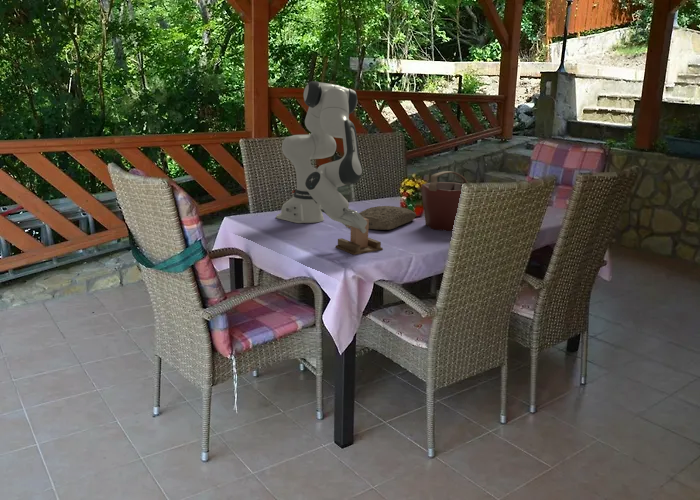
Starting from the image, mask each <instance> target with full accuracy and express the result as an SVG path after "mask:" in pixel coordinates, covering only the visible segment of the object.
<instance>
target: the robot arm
mask: <svg viewBox="0 0 700 500" xmlns="http://www.w3.org/2000/svg"><path fill="white" fill-rule="evenodd" d="M303 102H304V104H305V105H306V106H307V107H308V109H307V111H306V115H305V119H304V125H305V127H306V130H308V132H310V133H309V134H294V135H290V136H286V137H285V138H284V139H283V141H282V143H281V150H282V154H283V155H284V157H285V158H286V159H287V160H289V161H290V162H291V164H292V165H293V167H294V170H295V175H296V188H295V189H294V190H292V191H291V194H293V197H290V199H288V200H287V201H286V202H284V203H283V205H282V206H281V211H280V213H278V214H277V215H276V216H275V217H276V219H279V220H282V221H286V222H291V223H295V224H304V223H305V224H310V223H311V224H312V223H314V224H315V223H320V222H323V221H324V220H325V219H324V215H323V213H324V214H325V215H326V216H328V218H330V219H331V220H332V221H335V222H338V223H341V224H342V225H343V226H345V227H346V228H348V229H351V226H352V227H355V228H358V229H360V230H359V231H360V232H361V233H365V232H366V229H365V226H366V225H367V221H366V220H365V219H364V218H363V217H362V216H361V215H360V214H359V213H360V212H358V211H356V210H354V209H351V208H349V206H350V203H349V201H348V200H347V199H346V198H345V197H344V195H343V194H342V193H341V192H339V191H338V188H340V187H344V186H348V185H349V186H350V185H355V184H358V182H360V180H361V178H362V175H363V167H362V163H361V160H360V153H359V151H360V150H359V143H358V135H357V130H356V127H355V125H354V123H353V122H352V121H351V120H350V118H349V117H350V114H352V113H353V112H355V109H356V108H357V105H358V95H357V92H356V90H354V89H353V88H352V89H351V88H347V87H344V86H341V85H338V84H332V83H328V82H327V83H326V82H321V81H320V82H319V81H316V80H314V81H313V80H312V81H309V82H308V83H306V86H305V88H304V89H303ZM335 138H336V139H342V142H343V143H342V144H343V153H344V154H343V156H342V157H341V158H340V159H337V160H333V161H329V162H327V163H323V164H320V165H319V166H318V167H314V166H313V165H312V162H311V160H319V159H322V160H323V159H326V158H330V157H333V156H334V155H335V153H336V150H337V142H336V139H335Z"/></svg>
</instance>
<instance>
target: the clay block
mask: <svg viewBox="0 0 700 500" xmlns="http://www.w3.org/2000/svg"><path fill="white" fill-rule="evenodd" d="M364 219H365V220H366V221H367V225H366V226H365V229H366V232H365V233H361V232H360V231H359V230H360V229H358V228H355V227H352V226H351V227H350V242H353V243H355V244H358V245H360V248H362V247H368V237H369V229H368V228H369V219H366V218H364Z"/></svg>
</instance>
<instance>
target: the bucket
mask: <svg viewBox="0 0 700 500" xmlns="http://www.w3.org/2000/svg"><path fill="white" fill-rule="evenodd" d="M446 174H453V175H454V176H455V177H458V178H459V179H460V181H461V182H462V183H459V182H449V181H448V182H447V181H438V178H439V177H441V176H443V175H444V176H445V175H446ZM463 183H469V182H468V180H467V178H466V177H465V176H463V175H462V174H460V173H458V172H456V171H450V170H447V171H446V170H445V171H440V172H436V173H433V174H432V175H430V182H427V183H422V184H421V198H422V204H423V205H422V206H423V213H424V220H425V225H426V226H427V227H428V228H429V229H432V230H438V231H443V230H446V231H445V232H452V229H453V225H454V220H455V216H456V213H457V208H458V203H459V198H460V194H461V186H462V184H463Z"/></svg>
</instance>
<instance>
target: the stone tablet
mask: <svg viewBox="0 0 700 500" xmlns="http://www.w3.org/2000/svg"><path fill="white" fill-rule="evenodd" d="M358 213H359V214H360V215H361V216H362V217H363V218H366V219H369V228H368V230H375V231H376V230H378V231H379V230H380V231H384V230H385V231H389V230H393V229H396V228H398V227H400V226H403V225H405V224H408V223H410V222H412V221H414V220H415V218H416V216H417V214H416V212H414V211H413V210H411V209H409V208H404V207H401V206H391V205H379V206H372V207H368V208H366V209H364V210H362V211H360V212H358Z"/></svg>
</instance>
